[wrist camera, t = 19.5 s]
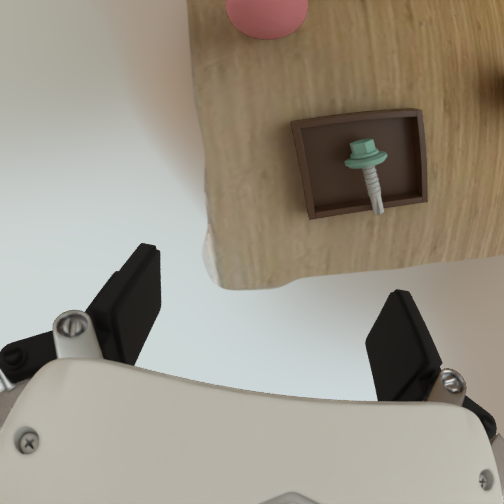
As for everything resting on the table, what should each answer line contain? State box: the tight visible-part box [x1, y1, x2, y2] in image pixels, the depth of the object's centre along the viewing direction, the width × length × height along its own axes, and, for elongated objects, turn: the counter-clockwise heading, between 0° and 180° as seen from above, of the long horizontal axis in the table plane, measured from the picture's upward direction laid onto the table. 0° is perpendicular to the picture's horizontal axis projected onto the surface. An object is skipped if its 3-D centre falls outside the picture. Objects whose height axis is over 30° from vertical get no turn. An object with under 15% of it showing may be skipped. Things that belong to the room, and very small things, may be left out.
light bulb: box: [226, 0, 308, 40], centre depth 21 cm, size 7×7×12 cm
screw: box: [345, 138, 387, 215], centre depth 31 cm, size 9×5×5 cm, turn 21°
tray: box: [291, 108, 428, 220], centre depth 32 cm, size 16×12×3 cm
